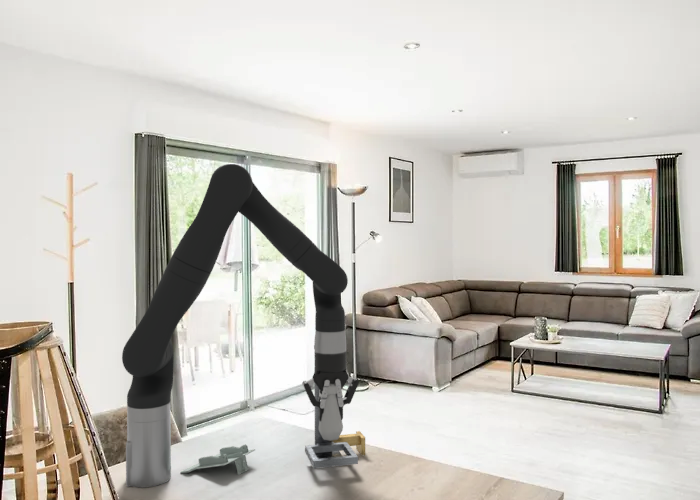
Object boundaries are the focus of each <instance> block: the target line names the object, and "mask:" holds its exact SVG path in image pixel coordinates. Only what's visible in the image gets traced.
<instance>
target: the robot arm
mask: <svg viewBox="0 0 700 500" xmlns="http://www.w3.org/2000/svg"><path fill="white" fill-rule="evenodd" d="M238 213H239V214H240V215H242V216H243V217H245V218H246V219H247V220H248V221H249V222H250V223H251V224H253V225H254V226H255V227H256V229H258V230H259V231H260V233H262V235H264V237H265V238H266V239H267V240H268V242H269V243H270V244H272V246H273V247H274V248H275V249H276V250H277V251H278V253H280V254H281V255H282V256H283V257H284V258H285V259H286V260H287V261H288V262H289V263H291V265H292V266H293V267H295V268H296V269H297V270H299V271H301V272H302V273H304V274H305V275H306V276H307V277H308V278H309V279H310V280H311V282H312V293H313V300H314V301H313V302H314V307H315V321H314V322H315V323H314V325H315V327H314V328H315V329H314V331H315V334H314V341H313V342H314V345H313V349H314V368H315V372H314V371H313V372H314V373H313V375H312V378H311V379H308V380H303V381H302V383H301V384H302V387H303V389H304V391H305V393H306V395H307V397H308V399H309V402H310V403H311V404H312V406H313V407H315V406H316V407H318V412H319V420H320V422H321V419H322V413H324V409H323V408H325V404H326V399H327V393H326V390H325V389H326V388H327V387H329V384H335V385H336V387H337V388H338V392H337V394H336V395H337V400H338V405H339V412H340V416H341V420H342V421H343V419H344V406H345V405H349V404H351V402H352V400H353V398H354V396H355V394H356V390H357V388H358V386H359V384H360V381H359V380H358V379H357V378H356V377H352V376H349V373H348V371H347V337H346V314H345V313H346V312H345V309H344V307H343V304H342V293H343V292H344V291H345V290H346V288H347V286H348V284H349V283H348V281H349V279H348V275H347V273H346V272H345V270H344V269H343V267H342V266H340V265H339V264H338V263H337V262H336V261H334V260H333V259H332V258H331V257H329V255H327V254H325V252H323V251H322V250H321V249H320V248H319V247H318V246H317V245H316V244H315V243H314V242H313V241H312V240H311V239H310V238H309V237H308V236H307V235H306V234H305V233H304V232H303V231H302V230H301V229H300V228H299V227H297V225H295V224H294V223H293V222H292V221H291V220H289V219H288V218H287V217H286V216H285V215H283V214H282V213H281V212H280V211H279V210H277V208H276V207H274V205H272V204H271V203H270V201H268V199H267V198H265V196H264V195H263V194H262V192H261V191H260V189H258V187H257V185H256V184H255V183H254V182H253V179H252V176H251V174H250V173H249V171H248V169H246V168H245V167H244V166H242V165H240V164H239V163H230V162H229V163H224V164H222V165H220V166H218V167H217V168H216V169H215V170H214V171H213V173H212V174H211V177H210V180H209V183H208V187H207V189H206V192H205V195H204V197H203V200H202V203H201V205H200V207H199V209H198V212H197V214H196V216H195V217H194V219H193V221H192V222H191V224H190V226H189V227H188V228H187V230H186V232H185V233H184V234H183V236H182V238H181V239H180V241H179V243H178V244H177V246H176V248H175V249H174V252H173V254H172V255H171V257H170V259H169V262H167V265H166V267H165V270H164V272H163V274H162V276H161V278H160V281H158V285H157V287H156V289H155V291H154V294H153V295H152V298H151V301H150V303H149V305H148V307H147V309H146V311H145V313H144V314H143V316H142V317H141V319H140V321H139V323H138V324H137V326H136V328H135V329H134V331H133V332H132V333H131V336H130V337H129V339H128V340H126V343H125V345H124V347H123V349H122V354H121V359H122V365H123V368H124V369H125V371H126V372H127V373H128V374H129V375H131V376H132V379H131V380H132V381H131V384H130V387H129V390H128V392H127V394H126V395H127V396H126V400H127V401H126V406H127V407H126V411H127V413H126V417H127V418H126V422H127V423H126V425H127V426H126V429H127V430H126V431H127V433H126V435H127V436H126V437H127V440H126V443H125V487H135V488H149V487H150V488H151V487H156V486H159V485H162V484H164V483H167V482H168V481H169V480H170V479H171V477H172V473H171V472H172V463H171V461H172V457H171V456H172V454H171V452H172V449H171V448H172V445H171V444H172V443H171V442H172V439H171V438H172V437H171V433H172V432H171V431H172V429H171V427H172V426H171V425H172V424H171V417H172V416H171V414H172V413H171V395H172V390H173V385H174V365H175V364H174V363H175V361H174V359H175V358H174V357H175V356H174V353H175V352H174V346H173V342H172V340H171V339H172V336H173V335H174V332H175V330H176V328H177V326H178V324H179V323H180V322H181V320H182V318H183V317H184V315H186V313H187V312H188V311H189V309H190V308H191V306H192V305H193V304H194V302H195V301H196V300H197V298H198V297H199V296H200V294H201V292H202V291H203V289H204V287H205V286H206V284H207V282H208V280H209V278H210V276H211V274H212V272H213V269H214V267H215V265H216V262H217V261H218V257H219V256H220V253H221V249H222V246H223V244H224V240H225V237H226V234H227V232H228V230H229V228H230V226H231V224H232V223H233V221H234V220H235V218H236V216H237V215H238ZM346 383H347V386H348V387H347V390H346V391H345V393H344V396H343V390H342V389H343V388H344V387H345V385H346ZM315 384H316V385H317V386H318V388H319V389H320V391H319V400H316V399H315V393H314V392H313V391H312V390H314V385H315Z"/></svg>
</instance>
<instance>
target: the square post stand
mask: <svg viewBox="0 0 700 500" xmlns="http://www.w3.org/2000/svg"><path fill="white" fill-rule="evenodd" d="M313 372H315V367H314V371H313ZM319 391H320V389H319V388H318V386H317V385H316V384H315V383H314V396H315V399H316V400H319ZM319 422H320V420H319V412H318V407H316V406H314V444H309V445H304V446H305V447H304V452H305V455H306V456H307V458H308V460H309V462H310V464H311V466H312V469H320V468H321V469H322V468H329V467H330V468H331V467H338V466H339V467H340V466H349V465H357V464H359V456H358V455H357V454H356V452H355V451H354V449H353V448H352V447H354V446H355V449H356V450H357V451H358V452H359V454H360V456H365V455H366V436H365V435H364V434H363V433H362V431H360V430H358V431H355V433H350V434H347V433H346V434H340V437H339V438H338V439H337V440H331V441H330V440H324V439H323V438H322V436H321V434H320V432H319ZM341 451H342V452H343V453H345V455H344V456H343V454H342V453H341Z"/></svg>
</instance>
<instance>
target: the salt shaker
mask: <svg viewBox="0 0 700 500" xmlns="http://www.w3.org/2000/svg"><path fill="white" fill-rule="evenodd" d="M325 390H326V393H327V399H326V404H325V408H323V409H324V413H322V419H321V422H319V432H320V434H321V436H322V438H323V439H324V440H330V441H331V440H337V439H338V438H339V437H340V435H342V432H343V430H344V426H343V419H342V420H341V416H340V412H339V405H338V400H337V395H336V394H337V392H338V388H337V387H336V385H335V384H329V387H327V388H326V389H325Z"/></svg>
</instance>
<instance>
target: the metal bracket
mask: <svg viewBox="0 0 700 500" xmlns="http://www.w3.org/2000/svg"><path fill="white" fill-rule="evenodd" d="M255 451H256V449H254V448H253V449H249V448H248V445H247V444H242V445H241V446H240V447H238V446H226V447H221V448H219V453H218V454H216V455H209V456H208V455H207V456H203V457H200V458H198V463H196V464H194V465H193V466H189V467H188V468H185V469H183V470H182V471H180V474H188V473H191V472H193V471H195V470H200V469H201V470H202V469H208V468H215V467H224V466H227V465H228V464H231V463H233V462H234V464H235V468H236V472H237V475H238V476H240V474H243V473H245V472H246V471H249V466H248V461H247V457H246V456H247V455H248V454H251V453H252V452H255Z"/></svg>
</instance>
